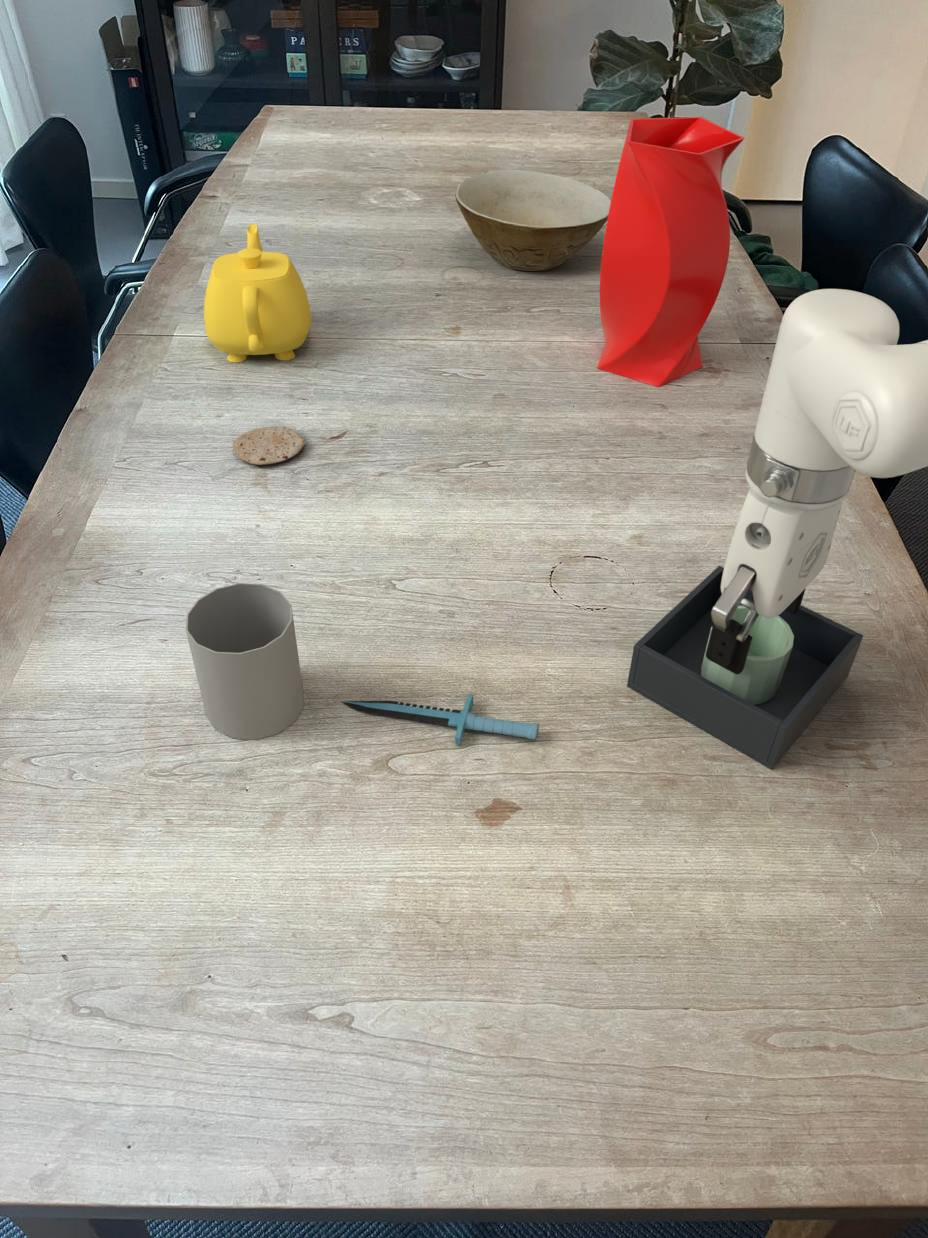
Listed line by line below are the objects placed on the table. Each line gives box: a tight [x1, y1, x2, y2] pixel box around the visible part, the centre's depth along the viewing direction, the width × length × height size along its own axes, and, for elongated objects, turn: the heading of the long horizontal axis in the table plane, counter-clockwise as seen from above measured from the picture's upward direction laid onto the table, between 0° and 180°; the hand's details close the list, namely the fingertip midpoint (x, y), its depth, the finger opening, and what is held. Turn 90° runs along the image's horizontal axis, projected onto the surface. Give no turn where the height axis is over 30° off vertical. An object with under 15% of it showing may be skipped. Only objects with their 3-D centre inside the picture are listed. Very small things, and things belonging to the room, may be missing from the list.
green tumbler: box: [701, 605, 794, 705], centre depth 86 cm, size 7×7×6 cm
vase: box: [596, 116, 745, 388], centre depth 123 cm, size 15×14×28 cm
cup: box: [185, 582, 305, 741], centre depth 83 cm, size 8×8×10 cm
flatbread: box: [232, 426, 306, 466], centre depth 115 cm, size 8×8×1 cm
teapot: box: [203, 223, 312, 363], centre depth 130 cm, size 14×20×13 cm
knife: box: [341, 693, 540, 746], centre depth 85 cm, size 17×1×5 cm
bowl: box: [454, 168, 611, 272], centre depth 152 cm, size 24×24×10 cm
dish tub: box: [626, 565, 864, 770], centre depth 87 cm, size 14×14×5 cm
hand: (752, 634), depth 85 cm, fingers open, 9 cm apart
